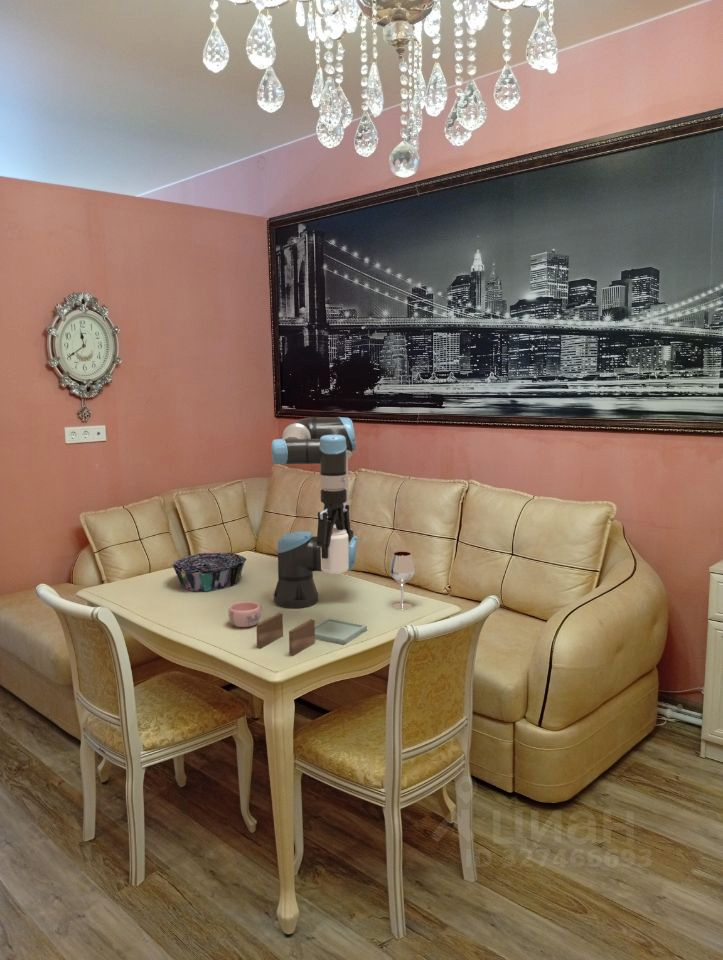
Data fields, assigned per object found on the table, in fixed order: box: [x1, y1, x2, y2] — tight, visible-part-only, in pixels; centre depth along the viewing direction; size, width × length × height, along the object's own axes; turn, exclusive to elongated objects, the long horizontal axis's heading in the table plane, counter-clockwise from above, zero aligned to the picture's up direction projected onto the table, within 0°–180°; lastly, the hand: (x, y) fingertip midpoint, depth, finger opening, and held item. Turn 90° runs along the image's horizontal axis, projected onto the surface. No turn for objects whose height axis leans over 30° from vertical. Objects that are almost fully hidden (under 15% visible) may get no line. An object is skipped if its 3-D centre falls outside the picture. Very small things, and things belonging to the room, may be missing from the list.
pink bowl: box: [227, 601, 263, 628], centre depth 233 cm, size 12×10×6 cm
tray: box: [315, 617, 368, 646], centre depth 225 cm, size 14×14×2 cm
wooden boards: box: [255, 612, 316, 657], centre depth 215 cm, size 12×11×7 cm
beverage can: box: [321, 528, 349, 575], centre depth 221 cm, size 8×8×12 cm
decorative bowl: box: [171, 551, 247, 593], centre depth 275 cm, size 26×28×10 cm
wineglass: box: [389, 551, 416, 611], centre depth 247 cm, size 8×8×18 cm
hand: (334, 565), depth 221 cm, fingers closed on beverage can, 8 cm apart
